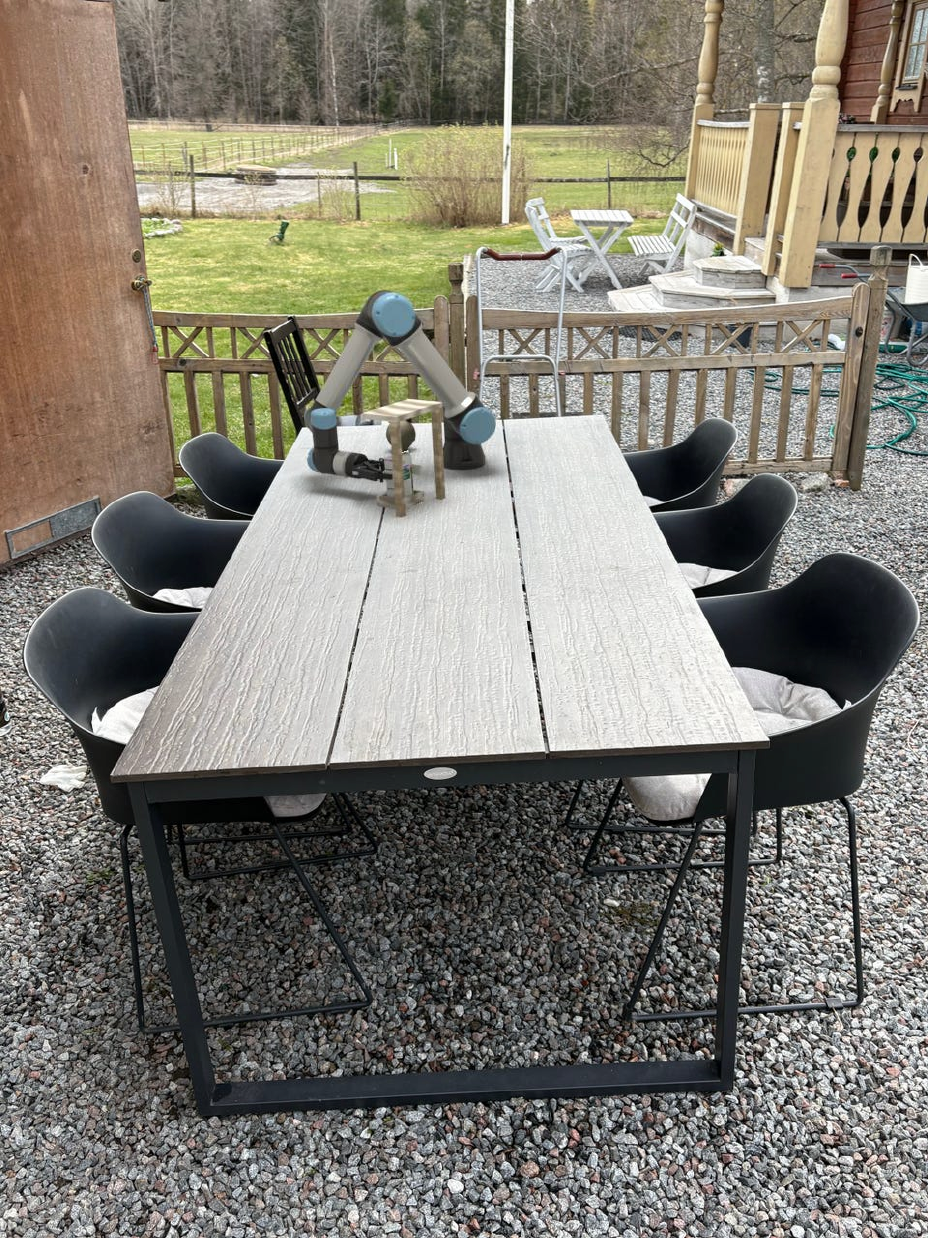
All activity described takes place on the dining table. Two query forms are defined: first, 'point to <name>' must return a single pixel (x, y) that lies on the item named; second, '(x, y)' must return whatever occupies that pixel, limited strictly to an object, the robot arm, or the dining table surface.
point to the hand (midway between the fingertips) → (411, 473)
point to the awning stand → (394, 416)
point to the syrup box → (406, 471)
